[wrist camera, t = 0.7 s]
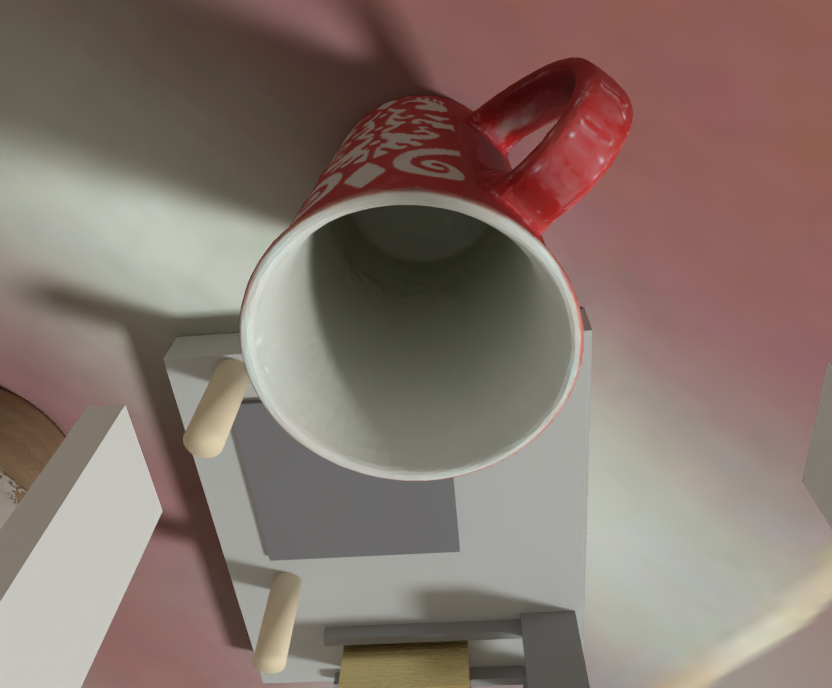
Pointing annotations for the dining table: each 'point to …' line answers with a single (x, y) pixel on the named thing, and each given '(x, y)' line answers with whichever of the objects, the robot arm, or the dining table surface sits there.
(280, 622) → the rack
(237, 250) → the dining table surface
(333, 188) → the mug
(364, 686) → the tan rectangular block
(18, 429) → the white ceramic vase
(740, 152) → the dining table surface
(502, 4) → the dining table surface
